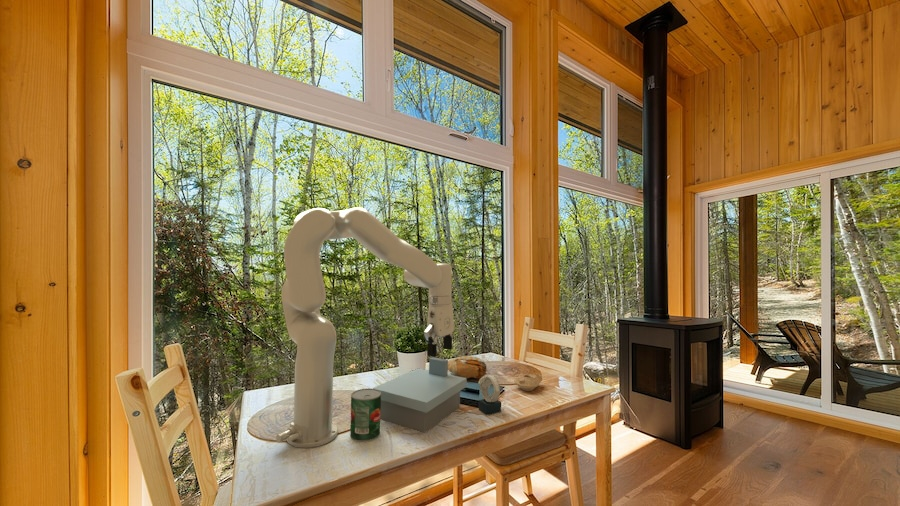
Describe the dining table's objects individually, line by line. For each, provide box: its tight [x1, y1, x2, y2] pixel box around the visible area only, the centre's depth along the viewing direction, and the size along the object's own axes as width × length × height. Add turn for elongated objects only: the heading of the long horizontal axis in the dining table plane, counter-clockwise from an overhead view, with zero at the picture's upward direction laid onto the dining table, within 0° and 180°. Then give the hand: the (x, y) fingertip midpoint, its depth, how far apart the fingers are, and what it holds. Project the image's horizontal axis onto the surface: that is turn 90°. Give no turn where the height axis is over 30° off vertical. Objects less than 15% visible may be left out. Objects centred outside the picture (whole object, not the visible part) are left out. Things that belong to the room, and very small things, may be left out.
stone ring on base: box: [477, 374, 502, 416], centre depth 114 cm, size 6×8×11 cm
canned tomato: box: [349, 387, 381, 443], centre depth 98 cm, size 8×8×11 cm
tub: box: [380, 391, 461, 434], centre depth 112 cm, size 20×16×8 cm
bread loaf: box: [448, 355, 491, 380], centre depth 144 cm, size 8×22×15 cm
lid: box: [372, 356, 468, 413], centre depth 112 cm, size 23×19×8 cm
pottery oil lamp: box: [513, 373, 543, 392], centre depth 134 cm, size 9×12×7 cm
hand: (440, 352), depth 120 cm, fingers open, 9 cm apart
